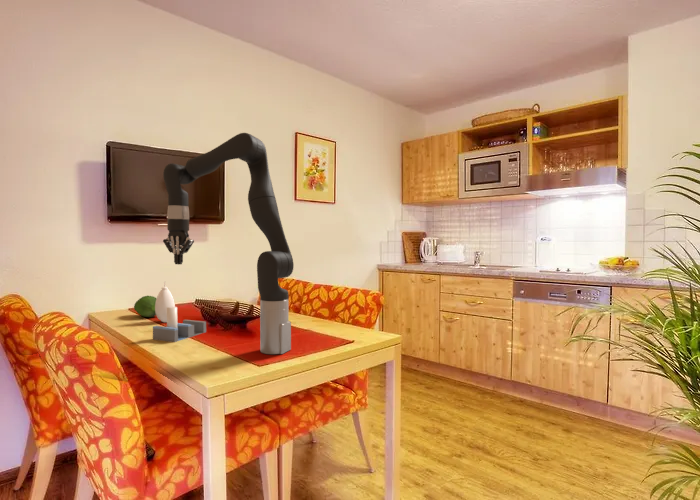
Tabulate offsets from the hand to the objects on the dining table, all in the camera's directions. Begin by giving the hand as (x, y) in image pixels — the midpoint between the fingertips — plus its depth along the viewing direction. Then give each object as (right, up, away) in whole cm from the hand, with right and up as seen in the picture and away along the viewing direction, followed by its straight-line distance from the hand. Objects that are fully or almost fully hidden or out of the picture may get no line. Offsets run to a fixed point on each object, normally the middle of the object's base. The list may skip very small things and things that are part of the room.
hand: (178, 264), depth 150 cm
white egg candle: (-17, -27, +26) cm, 41 cm away
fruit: (-31, -26, +37) cm, 55 cm away
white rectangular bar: (0, -27, -6) cm, 27 cm away
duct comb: (+2, -28, -2) cm, 28 cm away
